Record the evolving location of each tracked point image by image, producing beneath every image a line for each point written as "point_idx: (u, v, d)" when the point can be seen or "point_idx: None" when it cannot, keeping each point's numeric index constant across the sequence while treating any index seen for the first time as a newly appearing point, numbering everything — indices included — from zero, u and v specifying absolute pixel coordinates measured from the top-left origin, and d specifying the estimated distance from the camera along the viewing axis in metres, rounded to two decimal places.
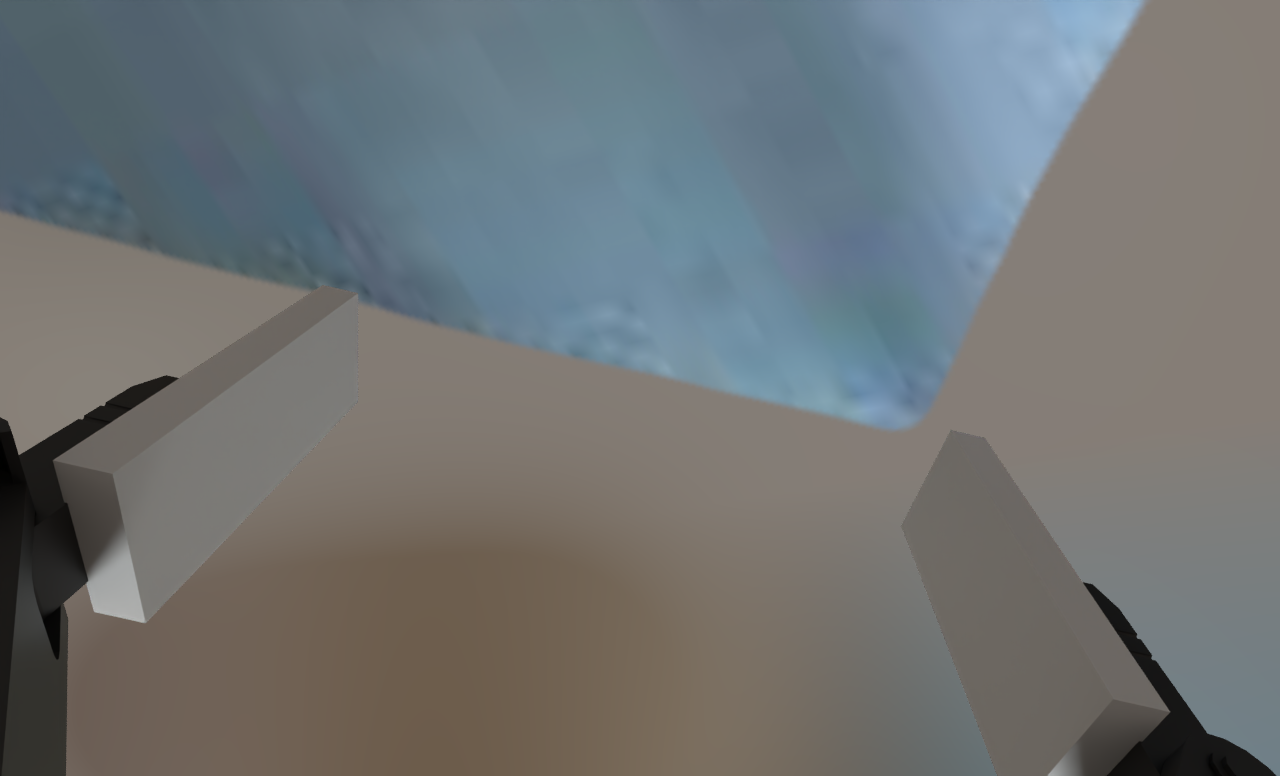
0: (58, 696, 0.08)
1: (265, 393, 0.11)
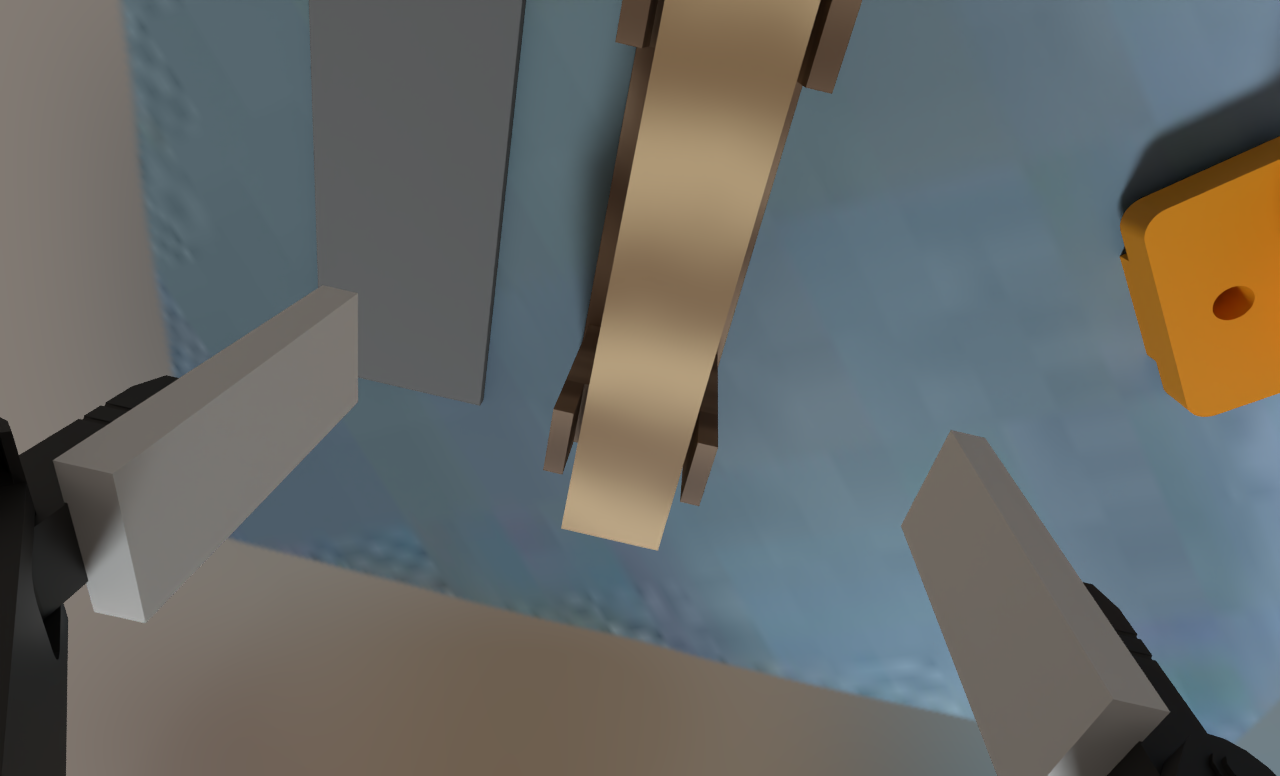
0: (58, 696, 0.08)
1: (264, 393, 0.11)
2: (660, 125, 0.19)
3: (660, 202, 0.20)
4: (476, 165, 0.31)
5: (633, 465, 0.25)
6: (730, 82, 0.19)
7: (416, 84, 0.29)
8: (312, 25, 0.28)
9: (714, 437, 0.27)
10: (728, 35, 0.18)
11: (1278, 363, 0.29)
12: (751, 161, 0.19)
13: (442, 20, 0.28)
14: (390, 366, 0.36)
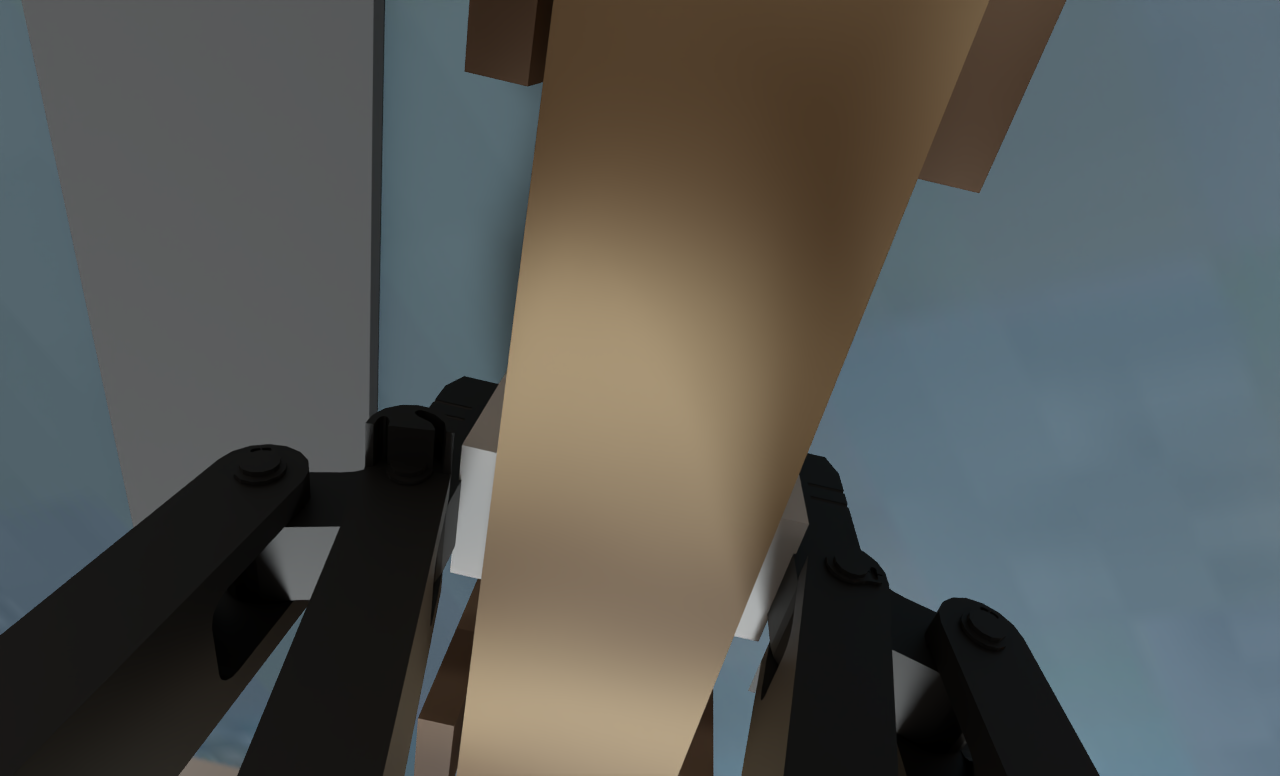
0: (425, 659, 0.09)
1: None
2: (568, 277, 0.08)
3: (579, 437, 0.09)
4: (326, 254, 0.19)
5: None
6: (741, 180, 0.07)
7: (215, 127, 0.18)
8: (32, 30, 0.17)
9: (707, 753, 0.15)
10: (738, 60, 0.07)
11: None
12: (790, 360, 0.08)
13: (244, 22, 0.16)
14: None
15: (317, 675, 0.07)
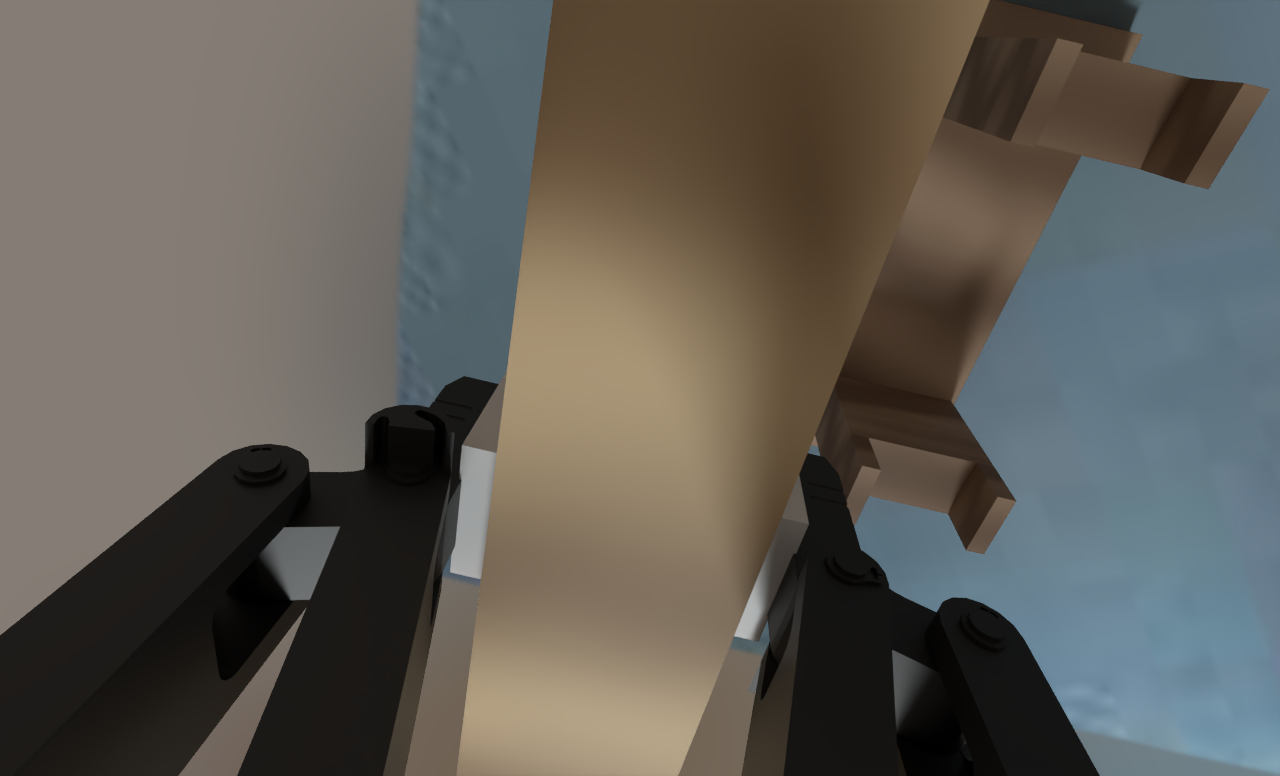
0: (425, 659, 0.09)
1: None
2: (567, 281, 0.08)
3: (579, 439, 0.09)
4: None
5: None
6: (740, 184, 0.07)
7: None
8: None
9: (1006, 490, 0.28)
10: (735, 65, 0.07)
11: None
12: (790, 364, 0.08)
13: None
14: None
15: (317, 675, 0.07)
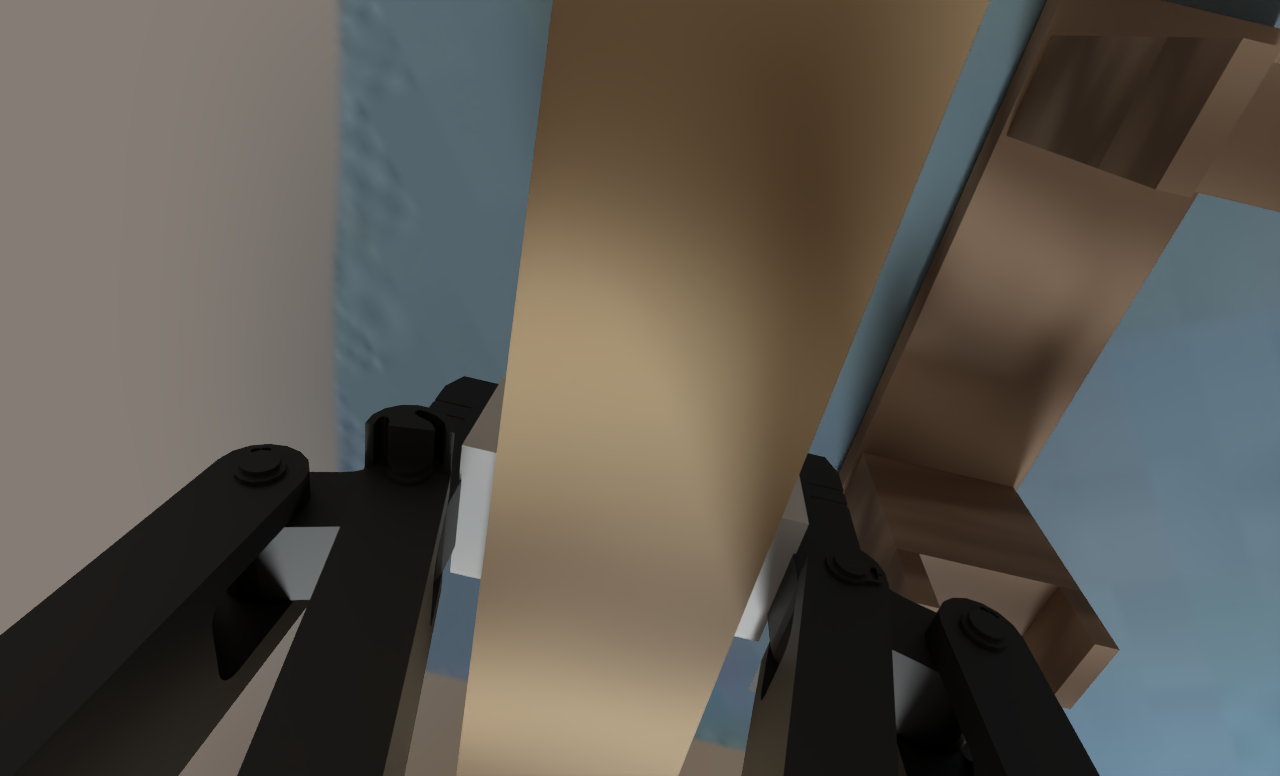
0: (425, 659, 0.09)
1: None
2: (567, 281, 0.08)
3: (579, 439, 0.09)
4: None
5: None
6: (741, 184, 0.07)
7: None
8: None
9: (1104, 632, 0.21)
10: (736, 66, 0.07)
11: None
12: (790, 364, 0.08)
13: None
14: None
15: (317, 675, 0.07)
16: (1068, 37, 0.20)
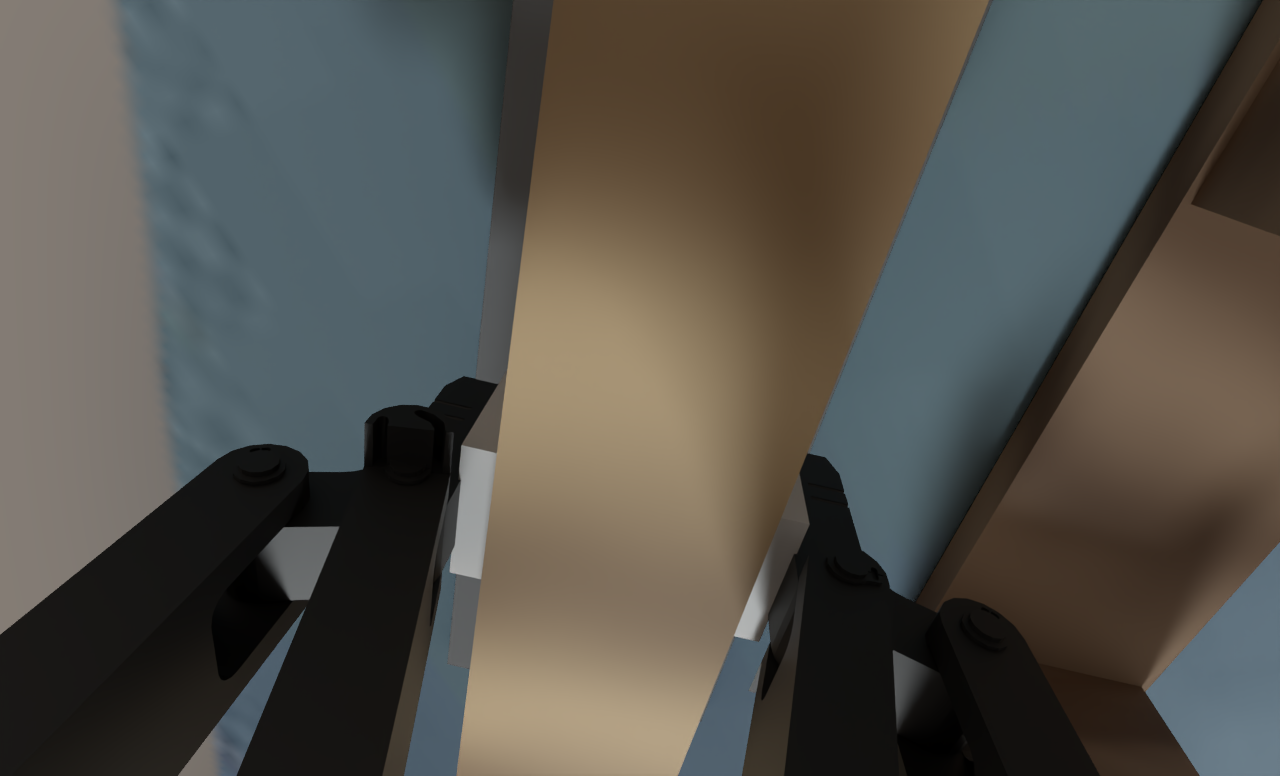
0: (424, 659, 0.09)
1: None
2: (567, 281, 0.08)
3: (579, 439, 0.09)
4: None
5: None
6: (739, 185, 0.07)
7: None
8: (502, 164, 0.15)
9: None
10: (735, 65, 0.07)
11: None
12: (790, 364, 0.08)
13: None
14: None
15: (316, 675, 0.07)
16: None
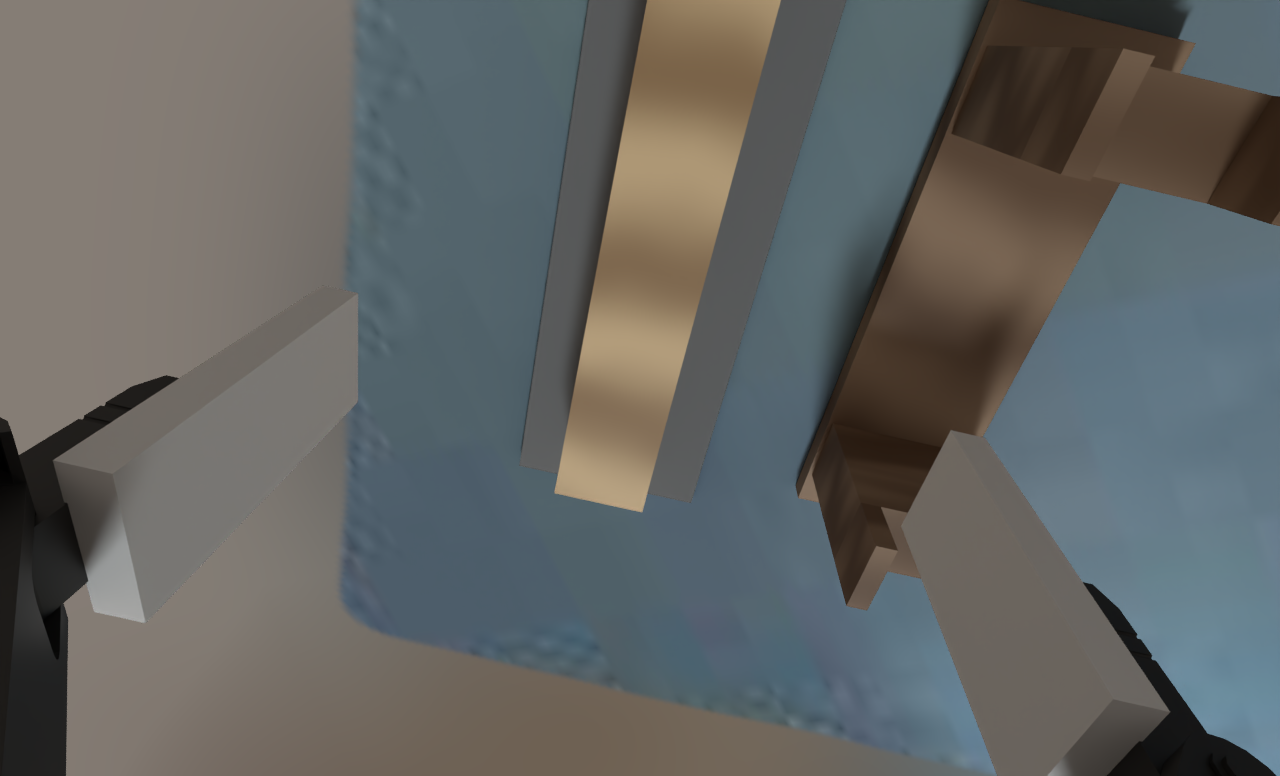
0: (58, 695, 0.08)
1: (264, 393, 0.11)
2: (640, 128, 0.22)
3: (641, 195, 0.23)
4: (733, 260, 0.28)
5: (619, 433, 0.28)
6: (699, 91, 0.22)
7: None
8: (574, 115, 0.26)
9: None
10: (697, 52, 0.21)
11: None
12: (719, 159, 0.23)
13: None
14: None
15: None
16: (999, 47, 0.22)
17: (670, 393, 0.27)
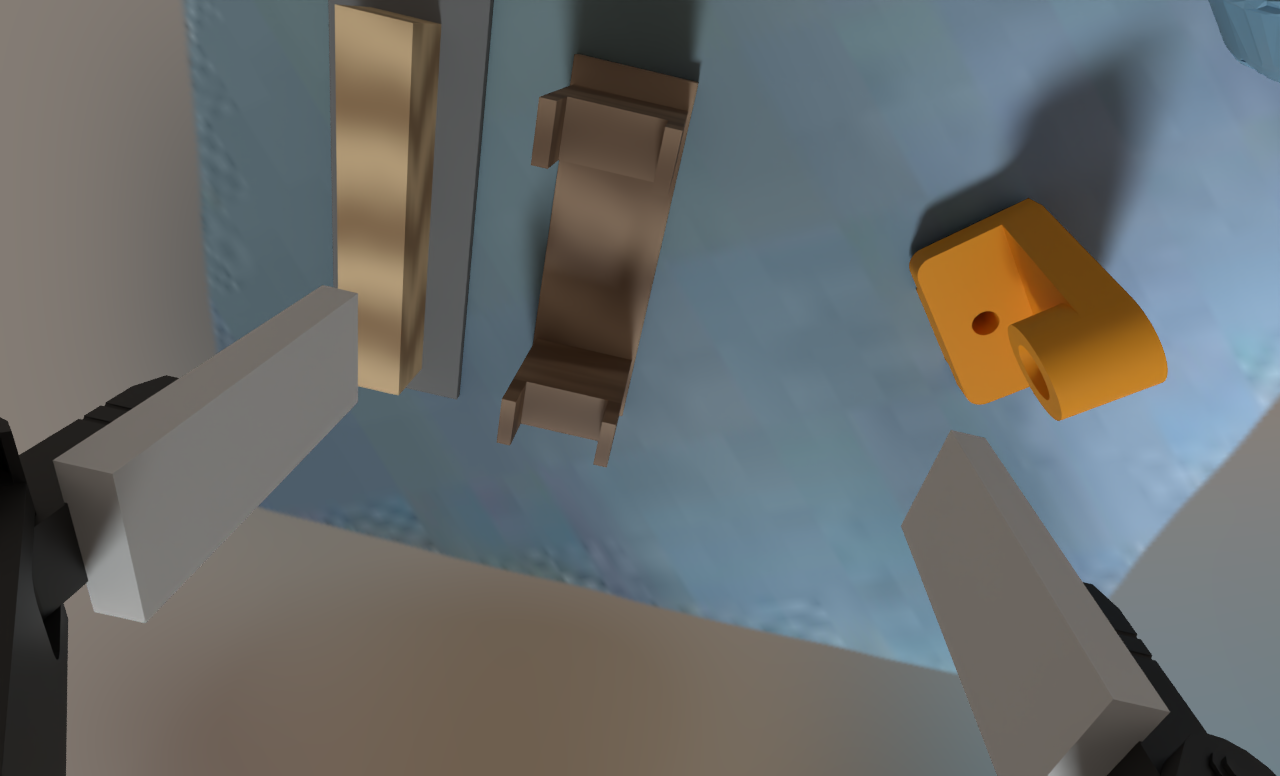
0: (58, 696, 0.08)
1: (265, 393, 0.11)
2: (346, 136, 0.36)
3: (355, 178, 0.37)
4: (450, 223, 0.42)
5: (373, 337, 0.42)
6: (376, 114, 0.36)
7: None
8: (332, 127, 0.40)
9: (615, 418, 0.38)
10: (370, 91, 0.35)
11: None
12: (396, 155, 0.36)
13: None
14: None
15: None
16: (569, 86, 0.36)
17: (399, 309, 0.41)
